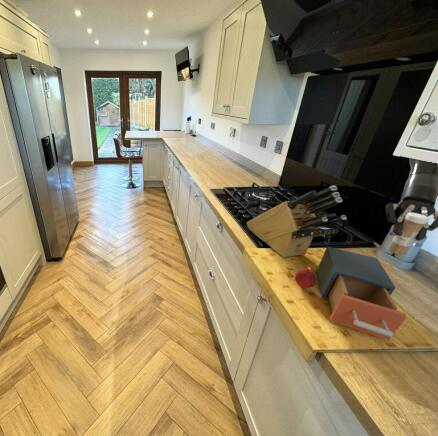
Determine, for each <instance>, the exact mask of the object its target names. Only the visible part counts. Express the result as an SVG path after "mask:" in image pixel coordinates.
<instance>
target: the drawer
mask: <svg viewBox="0 0 438 436" xmlns="http://www.w3.org/2000/svg"><path fill="white" fill-rule="evenodd" d="M328 296H329V300H328V301H329V304H330V308H331V312H332V313H331V315H330V317H329V320H330V322H333V323H336V324H339V325H342V326H344V327H348V328H350V329H353V330H356V331H359V332H361V333H364V334H368V335H371V336H372V337H373V336H374V337H376V338H379V339H382V340H384V341H387V342H389V341H390V340H391V339H392V337H393V336H394V334H395V333H396V332H397V331H398V329H399V328H400V326H402V324H403V322H404V321H405V320H407V319H406V318H407V317H408V316H407V314H406V313H405V312H403V311H400V310H398V307H397V304H396V303H395V301H394V300H393V297H392V295H390V294H389V292H388V290H387V289H386V288H385V287H381V286H378V285H374V284H370V283H367V282H363V281H360V280H356V279H352V278H349V277H345V276H342V275H338V274H337V276H336V278H335V280H334V282H333V284H332V286H331V288H330V290H329V292H328Z"/></svg>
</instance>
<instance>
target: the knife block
mask: <svg viewBox="0 0 438 436" xmlns="http://www.w3.org/2000/svg"><path fill="white" fill-rule="evenodd" d="M337 190H338V187H337V185H330V186H328V187H327V188H324V189H322V190H320V191H319V192H318V191H317V190H310V191H308V192H306V193H305V194H303V195H301V196H299V197H297V198H296V199H295V200H286V201H283V202H281V203H279V204H278V205H275V206H274V207H272V208H270V209H268V210H267V211H264V212H263V213H261V214H259V215H258V216H256V217H253V218H252V219H250V220H248V221H247V222H246V224H247V229H248V230H249V231H250V232H251V233H252V234H254V235H255V236H256V237H257V238H259V239H260V240H261V241H262V242H264V243H265V244H266V245H267V246H269V247H270V248H271V249H272V250H274V252H276V253H277V254H278V255H280V256H281V257H282V258H288V257H294V256H302V255H306V254H307V252H308V250H309V247H310V245H311V243H312V241H313V238H314V237H320V236H326V235H330V234H331V235H333V234H337V233H339V231H340V230H339V229H338V228H326V229H325V228H323V229H320V227H321V228H322V227H325V226H329V225H333V224H336V223H340V222H342V221H343V222H344V221H346V220H347V218H348V217H347V216H346V215H345V214H342V215H338V216H337V214H336V213H335V212H332V213H328V214H326V213H323V214H319V215H317V216H316V214H317V213H319V212H322V211H325V210H328V209H330V208H332V207H334V206H337V205H339V204H341V203H342V202H343V198H342V197H340V196H341V195H340V193H339V192H338V191H337Z"/></svg>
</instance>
